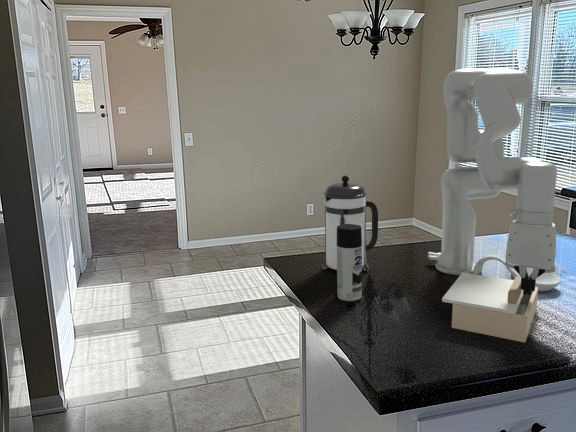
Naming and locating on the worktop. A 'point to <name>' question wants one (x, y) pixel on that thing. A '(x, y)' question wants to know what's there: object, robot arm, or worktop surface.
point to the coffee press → (347, 217)
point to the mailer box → (497, 319)
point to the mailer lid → (486, 293)
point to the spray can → (349, 262)
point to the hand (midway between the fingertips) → (527, 292)
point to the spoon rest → (542, 282)
